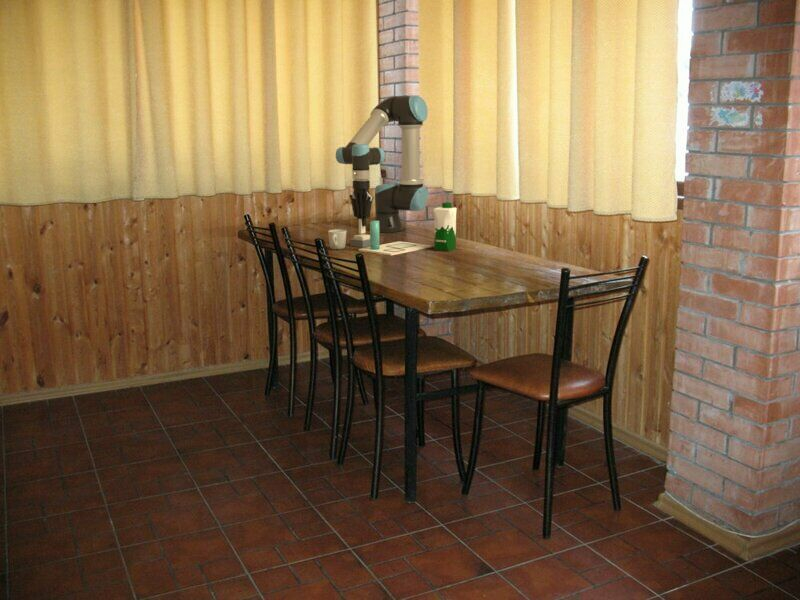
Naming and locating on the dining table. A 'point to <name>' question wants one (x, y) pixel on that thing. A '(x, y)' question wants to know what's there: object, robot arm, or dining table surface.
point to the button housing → (360, 243)
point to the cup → (337, 238)
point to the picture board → (396, 248)
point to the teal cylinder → (374, 235)
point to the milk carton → (445, 227)
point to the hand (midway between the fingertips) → (362, 233)
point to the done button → (362, 237)
